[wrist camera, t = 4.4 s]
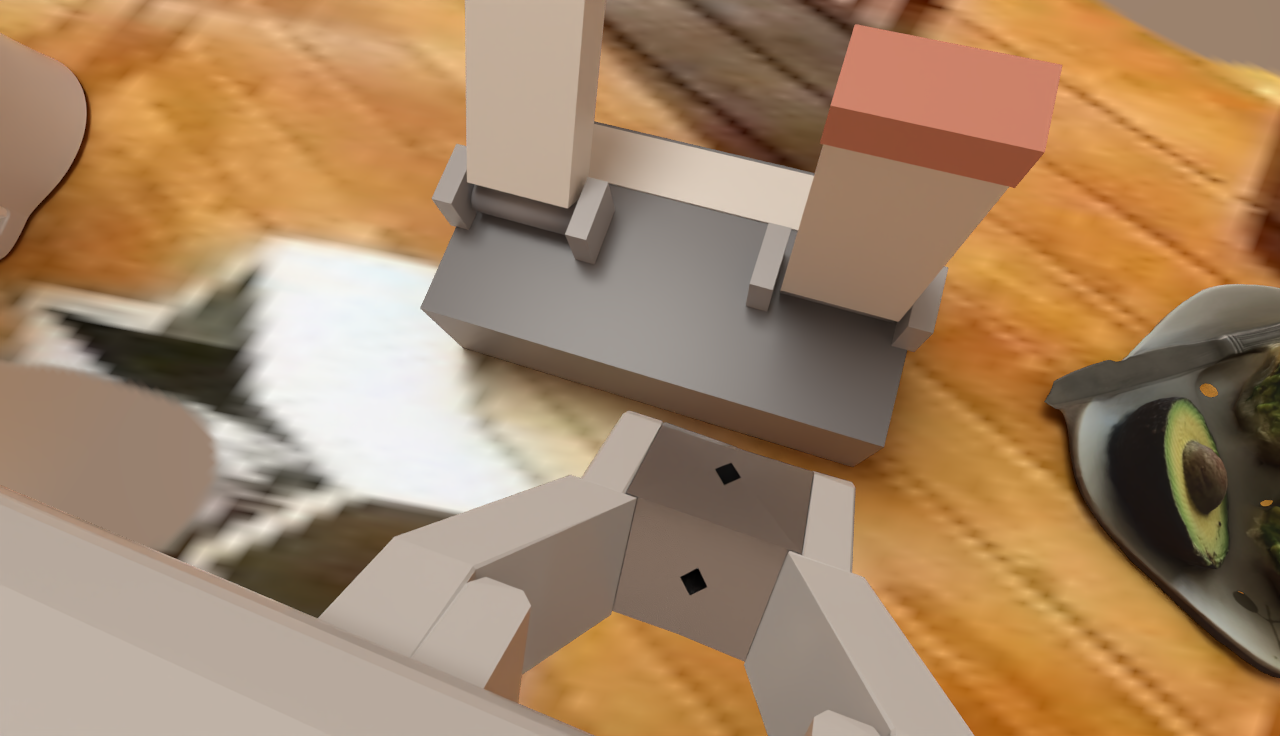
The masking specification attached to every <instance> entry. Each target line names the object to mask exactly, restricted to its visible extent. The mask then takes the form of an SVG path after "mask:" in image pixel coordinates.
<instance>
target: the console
mask: <svg viewBox="0 0 1280 736" xmlns="http://www.w3.org/2000/svg"><path fill="white" fill-rule="evenodd" d="M814 175H815V173H811V172H807V171H802V170H798V169H794V168H790V167H785V166H781V165H777V164H773V163H768V162H764V161H760V160H756V159H751V158H747V157H743V156H739V155H735V154H730V153H726V152H722V151H718V150H713V149H709V148H705V147H701V146H696V145H692V144H688V143H684V142H679V141H675V140H671V139H667V138H662V137H658V136H654V135H650V134H646V133H641V132H637V131H633V130H629V129H624V128H620V127H616V126H612V125H607V124H603V123H599V122H595V121H594V127H593V137H592V147H591V158H590V168H589V177H587V180H586V182H585V185H584V187H583V190H582V192H581V195H580V198H579V199H578V200H577V201H576V202H577V205H576V208H575V210H574V213H573V215H572V218H571V220H570V223H569V225H568V228H567V230H566V233H565V235H563V234H559V233H555V232H552V231H548V230H544V229H540V228H537V227H533V226H529V225H526V224H522V223H518V222H514V221H511V220H507V219H503V218H499V217H496V216H492V215H488V214H485V213H481V212H477V211H475V210H474V209H473V207H472V202H471V197H472V191H473V188H474V185H475V184H472V183H468V182H467V146H463V145H459V144H456V146H455V149H454V151H453V153H452V155H451V157H450V160H449V162H448V164H447V166H446V168H445V170H444V173H443V175H442V177H441V179H440V181H439V184H438V186H437V188H436V190H435V192H434V194H433V197H432V200H433V201H434V203H435V204H436V205H437V207H438V208H439V210H440V211H441V212H442V214H443V215H444V216H445V218H446V219H447V220H448V222H449V223H450V225H452V226H456V229H455V231H454V233H453V235H452V238H451V240H450V242H449V244H448V247H447V249H446V251H445V253H444V256H443V258H442V260H441V262H440V265H439V267H438V269H437V272H436V274H435V276H434V278H433V281H432V283H431V285H430V287H429V290H428V292H427V294H426V296H425V299H424V301H423V303H422V305H421V308H420V309H422V310H423V311H424V312H425V313H426V314H427V315H428V316H429V317H430V318H431V319H432V320H433V321H435V322H436V323H437V324H438V325H439V326H440V327H441V328H442V329H443V330H444V331H445V332H446V333H448V334H449V335H450V336H451V337H452V338H453V339H454V340H455V341H456V342H457V343H458V344H459V345H460V346H462V347H463V348H466V349H469V350H472V351H476V352H479V353H482V354H486V355H489V356H492V357H495V358H499V359H502V360H505V361H508V362H512V363H515V364H518V365H521V366H525V367H528V368H531V369H534V370H538V371H541V372H544V373H547V374H551V375H554V376H557V377H561V378H564V379H567V380H570V381H574V382H577V383H580V384H583V385H587V386H590V387H593V388H596V389H600V390H603V391H606V392H609V393H613V394H616V395H619V396H622V397H626V398H629V399H632V400H636V401H639V402H642V403H645V404H649V405H652V406H655V407H658V408H662V409H665V410H668V411H671V412H675V413H678V414H681V415H684V416H688V417H691V418H694V419H697V420H701V421H704V422H707V423H711V424H714V425H717V426H720V427H724V428H727V429H730V430H733V431H737V432H740V433H743V434H746V435H750V436H753V437H756V438H759V439H763V440H766V441H769V442H772V443H776V444H779V445H782V446H786V447H789V448H792V449H795V450H799V451H802V452H805V453H808V454H812V455H815V456H818V457H821V458H825V459H828V460H831V461H834V462H838V463H841V464H844V465H847V466H851V467H854V466H855V465H857V464H858V463H860V462H862V461H863V460H865V459H866V458H868V457H869V456H871V455H872V454H874V453H876V452H877V451H879V450H880V449H882V448H883V447H884V445H885V440H886V436H887V432H888V428H889V424H890V420H891V416H892V411H893V407H894V403H895V399H896V395H897V391H898V386H899V382H900V378H901V374H902V370H903V366H904V362H905V357H906V353H907V350H909V351H912V352H915V351H916V350H917V349H918V348H919V347H920V346H921V345H922V344H923V343H924V342H925V341H926V340H927V339H928V338H929V337H930V336H931V335H932V334H933V332H934V327H935V323H936V319H937V314H938V310H939V306H940V302H941V297H942V293H943V289H944V284H945V280H946V276H947V271H948V267H945V266H944V267H943V268H942V270H941V271H940V272H939V273H938V275H937V276H936V277H935V278H934V279H933V281H932V282H931V283H930V284H929V286H928V287H927V288H926V289H925V290H924V292H923V293H922V294H921V295H920V297H919V298H918V299H917V300H916V301H915V303H914V304H913V305H912V306H911V308H910V309H909V310H908V311H907V312H906V314H905V315H904V316H903V317H902V319H901V320H900V321H899V322H897V321H894V322H893V323H891V322H888V321H884V320H880V319H877V318H873V317H869V316H865V315H862V314H858V313H854V312H850V311H847V310H843V309H839V308H836V307H832V306H828V305H824V304H821V303H817V302H813V301H809V300H806V299H802V298H798V297H795V296H791V295H787V294H783V293H780V290H781V287H782V283H783V280H784V276H785V273H786V270H787V266H788V263H789V260H790V256H791V253H792V249H793V246H794V243H795V239H796V236H797V232H798V229H799V226H800V222H801V219H802V215H803V212H804V209H805V205H806V202H807V198H808V195H809V192H810V188H811V185H812V181H813V178H814Z"/></svg>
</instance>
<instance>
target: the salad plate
mask: <svg viewBox="0 0 1280 736" xmlns="http://www.w3.org/2000/svg"><path fill="white" fill-rule="evenodd" d="M1204 383H1208V384H1211V385H1213V386H1214V387H1215V388H1216V389H1217V391H1218V395H1217V396H1216V397H1212V398H1211V397H1207V396H1205V395H1204V394H1203V393H1202V392H1201V390H1200V386H1201V385H1202V384H1204ZM1044 402H1046V403H1047V404H1049V405H1051V406H1053V407H1054V408H1055V409H1059V410H1060V411H1061V412H1062V413H1063V415H1064V418H1065V421H1066V425H1067V429H1068V435H1069V448H1070V455H1071V460H1072V465H1073V470H1074V476H1075V479H1076V482H1077V484H1078V488H1079V491H1080V493H1081V494H1082V496H1083V498H1084V500H1085V502H1086V504H1087V506H1088V507H1089V509H1090V510H1091V512H1092V514H1093V515H1094V517H1095V518H1096V520H1097V521H1098V522H1099V523H1100V525H1101V526H1102V527H1103V529H1104V530H1105V531H1106V532H1107V533H1108V534H1109V536H1110V537H1111V538H1112V539H1113V540H1114V541H1115V542H1116V543H1117V545H1118V546H1119V547H1120V548H1121V549H1122V551H1123V552H1124V553H1125V554H1126V556H1127V557H1128V558H1129V559H1130V560H1131V561H1132V562H1133V563H1134V564H1135V565H1136V566H1137V567H1138V568H1140V569H1141V570H1142V571H1143V572H1144V573H1145V574H1146V575H1147V576H1148V577H1149V578H1151V579H1152V580H1153V581H1154V582H1155V583H1156V584H1157V585H1158V586H1159V587H1160V588H1161V589H1162V590H1163V591H1164V592H1165V593H1166V594H1167V595H1168V596H1169V597H1170V598H1171V599H1172V600H1173V601H1174V602H1175V603H1176V604H1177V605H1178V606H1179V607H1181V608H1182V609H1183V610H1184V611H1185V612H1186V613H1187V614H1188V615H1189V616H1190V617H1191V618H1193V619H1194V620H1195V621H1196V622H1197V623H1198V624H1199V625H1200V626H1201V627H1202V628H1204V629H1205V630H1206V631H1207V632H1208V633H1209V634H1210V635H1212V636H1213V637H1214V638H1215V639H1216V640H1217V641H1219V642H1220V643H1222V644H1223V645H1225V646H1226V647H1228V648H1229V649H1230V650H1231V651H1233V652H1234V653H1235V654H1237V655H1238V656H1239V657H1241V658H1242V659H1243V660H1245V661H1246V662H1248V663H1249V664H1251V665H1252V666H1254V667H1255V668H1257V669H1258V670H1260V671H1261V672H1263V673H1266V674H1268V675H1270V676H1273V677H1277V678H1280V288H1276V287H1271V286H1261V285H1244V284H1232V285H1220V286H1215V287H1211V288H1207V289H1204V290H1202V291H1200V292H1199V293H1197V294H1195V295H1194V296H1192V297H1190V298H1189V299H1188V300H1186V301H1184V302H1183V303H1182V304H1180V305H1179V306H1178V307H1176V308H1175V309H1174V310H1173V311H1171V312H1170V313H1169V314H1168V315H1167V316H1166V317H1164V318H1163V319H1162V320H1161V321H1160V322H1159V323H1158V324H1157V325H1156V326H1155V327H1154V329H1153V330H1152V331H1151V333H1149V334H1148V335H1147V336H1146V337H1145V338H1144V339H1143V340H1142V341H1141V342H1140V343H1139V344H1138V345H1137V346H1136V347H1135V348H1134V349H1133V350H1132V351H1131V352H1130V353H1129V355H1128V356H1127V357H1125V358H1124V359H1123V360H1122V361H1119V362H1114V361H1111V360H1107V361H1103V362H1100V363H1096V364H1093V365H1090V366H1087V367H1084V368H1082V369H1080V370H1076V371H1074V372H1071V373H1070V374H1067V375H1065V376H1063V377H1061V378H1059V379H1057V380H1056V381H1054V383H1053V386H1052V389H1051V391H1050V393H1049V395H1048V396H1047V398H1046V401H1044ZM1264 500H1273V503H1272V504H1271V505H1269V506H1261V505H1260V502H1262V501H1264ZM1238 591H1240V592H1243V593H1244V594H1242V593H1240V592H1238Z"/></svg>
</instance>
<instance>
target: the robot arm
mask: <svg viewBox="0 0 1280 736" xmlns="http://www.w3.org/2000/svg"><path fill="white" fill-rule="evenodd" d="M86 116H87V111H86V101H85V96H84V93H83V89H82V87H81V85H80V83H79V81H78V79H77V78H76V77H75V75H74V74H73V73H72V72H71V71H70V70H69V69H68V68H67V67H66V66H65V65H63V64H62V63H61V62H59V61H57V60H55V59H53V58H51V57H49V56H46V55H44V54H42V53H39V52H37V51H35V50H33V49H31V48H29V47H27V46H25V45H23V44H21V43H19V42H17V41H15V40H13V39H11V38H9V37H7V36H5V35H3V34H2V33H0V259H2V258H3V257H5V256H6V255H7V254H8V253H9V252H10V250H11V249H12V248H13V246H14V244H15V243H16V241H17V239H18V237H19V236H20V233H21V231H22V229H23V227H24V225H25V223H26V221H27V219H28V217H29V216H30V214H31V213H32V212H33V210H34V209H35V208H36V207H37V206H38V205H39V204H40V203H41V202H42V201H43V199H44V198H45V197H46V196H47V195H48V194H49V193H50V192H51V191H52V190H53V189H54V188H55V187H56V185H57V184H58V183H59V182H60V180H61V179H62V178H63V176H64V175H65V173H66V172H67V171H68V169H69V167H70V166H71V164H72V162H73V160H74V158H75V156H76V154H77V152H78V150H79V147H80V145H81V142H82V139H83V135H84V131H85V126H86ZM854 511H855V486H854V484H853V483H852V482H850V481H846V480H843V479H839V478H836V477H832V476H829V475H826V474H822V473H819V472H815V471H809V470H806V469H803V468H800V467H796V466H793V465H790V464H787V463H783V462H780V461H777V460H774V459H770V458H767V457H764V456H761V455H757V454H754V453H751V452H748V451H744V450H741V449H738V448H737V447H735V446H732V445H729V444H726V443H724V442H721V441H718V440H715V439H712V438H709V437H706V436H703V435H701V434H698V433H695V432H692V431H689V430H686V429H683V428H680V427H678V426H675V425H672V424H669V423H666V422H665V423H663V422H662V421H661V420H658V419H654V418H651V417H648V416H645V415H642V414H639V413H636V412H633V411H627V412H625V413H624V414H622V416H621V417H620V419H619V420H618V422H617V423H616V425H615V426H614V428H613V430H612V431H611V433H610V434H609V436H608V437H607V439H606V440H605V442H604V443H603V445H602V447H601V448H600V450H599V451H598V453H597V454H596V456H595V457H594V459H593V460H592V462H591V464H590V465H589V467H588V468H587V470H586V471H585V473H584V474H583V476H582V477H581V478H578V477H575V476H572V475H568V476H565V477H563V478H560V479H557V480H554V481H551V482H548V483H546V484H543V485H540V486H537V487H534V488H531V489H529V490H526V491H523V492H520V493H517V494H515V495H512V496H509V497H506V498H503V499H500V500H498V501H495V502H492V503H489V504H486V505H483V506H481V507H478V508H475V509H472V510H469V511H467V512H464V513H461V514H458V515H455V516H452V517H450V518H447V519H444V520H441V521H438V522H435V523H433V524H430V525H427V526H424V527H421V528H418V529H416V530H413V531H410V532H407V533H404V534H402V535H399V536H396V537H394V538H393V539H392V540H391V541H390V542H389V543H388V544H387V545H386V546H385V547H384V549H383V550H382V551H381V552H380V553H379V554H378V555H377V556H376V557H375V558H374V559H373V560H372V561H371V562H370V563H369V565H368V566H367V567H366V568H365V569H364V570H363V571H362V572H361V573H360V574H359V575H358V576H357V577H356V578H355V579H354V580H353V582H352V583H351V584H350V585H349V586H348V587H347V588H346V589H345V590H344V591H343V592H342V593H341V594H340V595H339V596H338V597H337V599H336V600H335V601H334V602H333V603H332V604H331V605H330V606H329V607H328V608H327V609H326V610H325V611H324V612H323V613H322V615H321V616H320V617H319V618H318V619H317V618H315V617H313V616H310V615H308V614H305V613H303V612H301V611H298V610H296V609H294V608H291V607H289V606H286V605H284V604H282V603H279V602H277V601H275V600H272V599H270V598H267V597H265V596H263V595H260V594H258V593H256V592H253V591H251V590H248V589H246V588H244V587H241V586H239V585H237V584H234V583H232V582H229V581H227V580H225V579H222V578H220V577H218V576H215V575H213V574H211V573H208V572H206V571H203V570H201V569H199V568H196V567H194V566H192V565H189V564H187V563H184V562H182V561H180V560H177V559H175V558H173V557H170V556H168V555H165V554H163V553H161V552H158V551H156V550H154V549H151V548H149V547H146V546H144V545H142V544H139V543H137V542H135V541H132V540H130V539H127V538H125V537H123V536H120V535H118V534H116V533H113V532H111V531H108V530H106V529H104V528H101V527H99V526H97V525H94V524H92V523H89V522H87V521H85V520H82V519H80V518H78V517H75V516H73V515H70V514H68V513H66V512H63V511H61V510H59V509H56V508H54V507H51V506H49V505H47V504H44V503H42V502H40V501H37V500H35V499H32V498H30V497H28V496H25V495H23V494H21V493H18V492H16V491H13V490H11V489H9V488H6V487H4V486H2V485H0V736H594V735H592V734H590V733H587V732H585V731H582V730H580V729H578V728H575V727H573V726H571V725H568V724H566V723H563V722H561V721H559V720H556V719H554V718H552V717H549V716H547V715H544V714H542V713H540V712H537V711H535V710H533V709H530V708H528V707H526V706H523V705H521V704H518V700H519V692H520V685H521V677H522V674H524V673H525V672H527V671H528V670H530V669H531V668H533V667H534V666H536V665H537V664H539V663H540V662H542V661H543V660H545V659H546V658H547V657H549V656H550V655H552V654H553V653H555V652H556V651H558V650H559V649H561V648H562V647H564V646H565V645H567V644H568V643H570V642H571V641H573V640H574V639H576V638H577V637H579V636H580V635H581V634H583V633H584V632H586V631H587V630H589V629H590V628H592V627H593V626H595V625H596V624H598V623H599V622H601V621H602V620H604V619H605V618H607V617H608V616H610V615H611V612H612V611H614V612H617V613H620V614H623V615H626V616H629V617H631V618H634V619H637V620H640V621H643V622H646V623H649V624H651V625H654V626H657V627H660V628H663V629H666V630H668V631H671V632H674V633H677V634H679V635H682V636H684V637H687V638H689V639H691V640H694V641H696V642H699V643H701V644H703V645H706V646H708V647H711V648H713V649H716V650H718V651H720V652H723V653H725V654H728V655H730V656H732V657H735V658H737V659H740V660H742V661H744V662H745V664H744V666H745V669H746V672H747V675H748V678H749V681H750V684H751V687H752V690H753V693H754V696H755V699H756V702H757V704H758V707H759V710H760V713H761V716H762V719H763V722H764V725H765V728H766V731H767V734H768V736H974V734H973V733H972V732H971V730H970V729H969V727H968V726H967V724H966V723H965V721H964V720H963V719H962V717H961V716H960V714H959V713H958V711H957V710H956V708H955V707H954V706H953V704H952V703H951V701H950V700H949V698H948V697H947V696H946V694H945V693H944V691H943V690H942V688H941V687H940V685H939V684H938V683H937V681H936V680H935V678H934V677H933V675H932V674H931V673H930V671H929V670H928V668H927V667H926V665H925V664H924V662H923V661H922V660H921V658H920V657H919V655H918V654H917V652H916V651H915V650H914V648H913V647H912V645H911V644H910V642H909V641H908V639H907V638H906V637H905V635H904V634H903V632H902V631H901V629H900V628H899V627H898V625H897V624H896V622H895V621H894V619H893V618H892V616H891V615H890V614H889V612H888V611H887V609H886V608H885V606H884V605H883V604H882V602H881V601H880V599H879V598H878V596H877V595H876V593H875V592H874V591H873V589H872V588H871V586H870V585H869V583H868V582H867V580H866V579H865V578H864V577H862V576H859V575H856V574H853V573H852V561H853V536H854ZM679 629H680V630H679ZM678 632H679V633H678Z"/></svg>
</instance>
